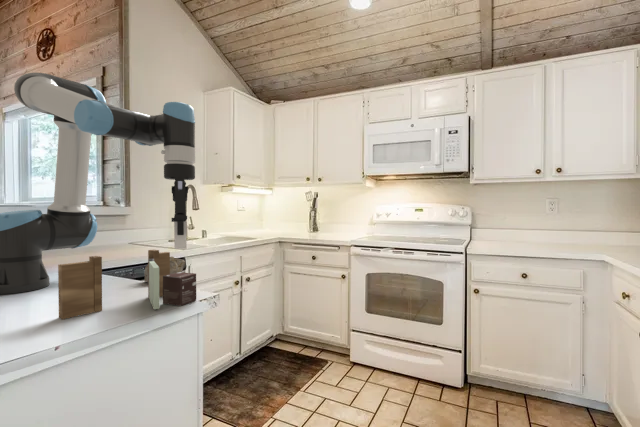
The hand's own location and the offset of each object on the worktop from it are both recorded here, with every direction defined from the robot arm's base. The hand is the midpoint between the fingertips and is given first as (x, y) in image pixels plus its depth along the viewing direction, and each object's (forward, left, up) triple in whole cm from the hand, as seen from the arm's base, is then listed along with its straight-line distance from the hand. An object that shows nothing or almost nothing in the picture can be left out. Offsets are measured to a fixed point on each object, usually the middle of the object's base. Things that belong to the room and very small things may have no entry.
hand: (180, 245), depth 90 cm
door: (-3, -5, -15) cm, 16 cm away
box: (0, 0, -15) cm, 15 cm away
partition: (-10, -10, -15) cm, 21 cm away
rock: (-27, +13, -15) cm, 33 cm away
